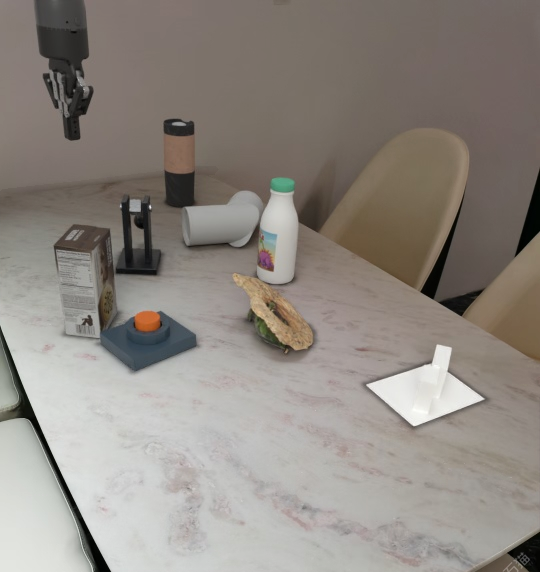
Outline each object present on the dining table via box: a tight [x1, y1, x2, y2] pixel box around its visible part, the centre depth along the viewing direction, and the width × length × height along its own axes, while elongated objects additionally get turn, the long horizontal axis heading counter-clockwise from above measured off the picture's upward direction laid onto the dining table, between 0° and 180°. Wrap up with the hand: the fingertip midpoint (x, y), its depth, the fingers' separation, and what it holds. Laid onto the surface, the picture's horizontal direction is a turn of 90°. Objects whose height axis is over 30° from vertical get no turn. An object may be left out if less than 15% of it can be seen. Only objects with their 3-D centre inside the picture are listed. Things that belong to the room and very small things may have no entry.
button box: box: [99, 310, 197, 372], centre depth 97 cm, size 12×10×4 cm
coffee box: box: [53, 223, 118, 339], centre depth 98 cm, size 9×6×16 cm
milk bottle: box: [256, 176, 299, 285], centre depth 117 cm, size 8×8×20 cm
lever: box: [129, 198, 144, 230], centre depth 122 cm, size 13×4×4 cm
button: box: [134, 310, 160, 332], centre depth 96 cm, size 4×4×2 cm
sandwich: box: [231, 272, 314, 355], centre depth 104 cm, size 18×14×8 cm
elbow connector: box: [181, 190, 265, 248], centre depth 135 cm, size 18×11×20 cm
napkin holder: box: [365, 344, 485, 427], centre depth 91 cm, size 15×11×6 cm
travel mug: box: [162, 118, 196, 208], centre depth 150 cm, size 8×8×20 cm
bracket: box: [115, 193, 162, 276], centre depth 120 cm, size 10×8×14 cm
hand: (72, 139), depth 101 cm, fingers closed
